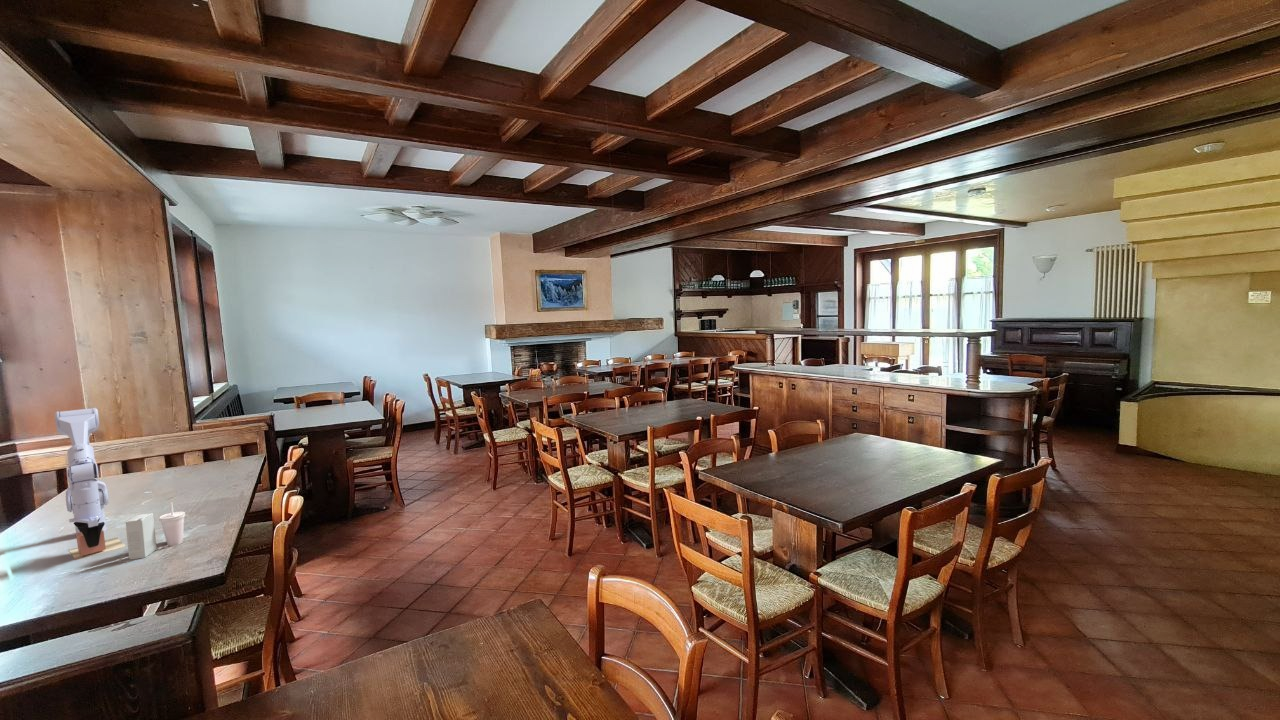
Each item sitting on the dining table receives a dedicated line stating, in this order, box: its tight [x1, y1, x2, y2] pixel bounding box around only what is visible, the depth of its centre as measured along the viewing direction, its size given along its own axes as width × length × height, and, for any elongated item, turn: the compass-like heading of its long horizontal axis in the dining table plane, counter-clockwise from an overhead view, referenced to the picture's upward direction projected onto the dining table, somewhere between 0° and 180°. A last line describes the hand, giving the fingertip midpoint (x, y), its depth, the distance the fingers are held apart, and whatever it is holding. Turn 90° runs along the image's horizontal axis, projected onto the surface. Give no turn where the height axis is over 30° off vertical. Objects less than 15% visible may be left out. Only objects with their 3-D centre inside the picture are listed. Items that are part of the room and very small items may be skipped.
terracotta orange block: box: [75, 530, 106, 556], centre depth 162 cm, size 5×5×6 cm
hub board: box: [68, 537, 127, 561], centre depth 166 cm, size 13×11×4 cm
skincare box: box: [125, 512, 158, 560], centre depth 161 cm, size 6×4×12 cm
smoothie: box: [158, 501, 186, 547], centre depth 169 cm, size 6×6×14 cm
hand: (91, 544), depth 162 cm, fingers closed on terracotta orange block, 5 cm apart
